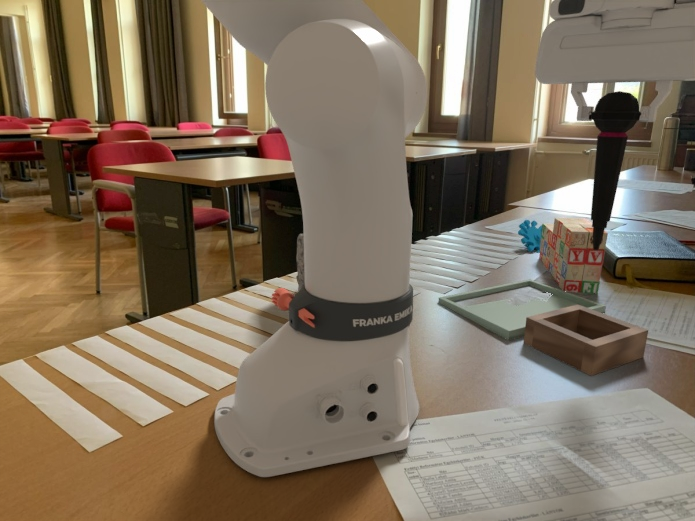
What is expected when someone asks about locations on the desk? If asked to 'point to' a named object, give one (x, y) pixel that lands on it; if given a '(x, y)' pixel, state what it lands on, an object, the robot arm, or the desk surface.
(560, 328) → the holder
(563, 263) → the stack of blocks
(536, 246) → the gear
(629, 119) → the microphone
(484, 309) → the tray
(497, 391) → the desk surface
